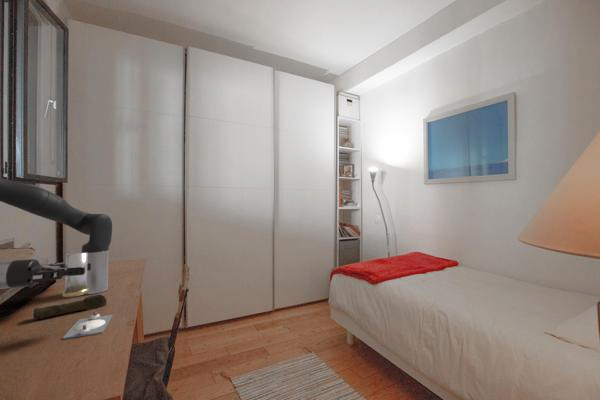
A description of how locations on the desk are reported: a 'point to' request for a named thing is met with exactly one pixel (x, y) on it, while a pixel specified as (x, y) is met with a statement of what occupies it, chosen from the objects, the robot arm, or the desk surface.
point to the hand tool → (70, 307)
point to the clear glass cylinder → (78, 282)
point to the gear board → (89, 326)
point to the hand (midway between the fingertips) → (87, 268)
